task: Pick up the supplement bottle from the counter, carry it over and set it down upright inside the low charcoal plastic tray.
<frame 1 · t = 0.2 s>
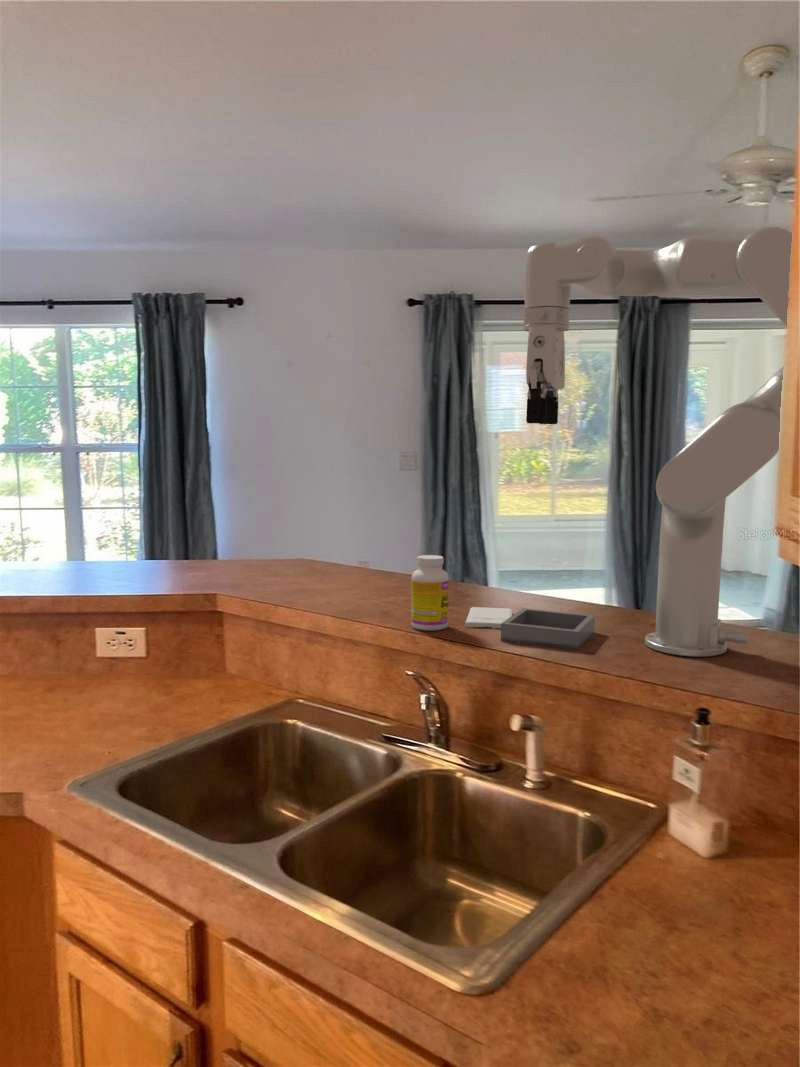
hand: (542, 423, 134), 36 cm above the worktop, tool pointing down, fingers open, 9 cm apart
external hard drive: (489, 624, 147), on the worktop
tray: (548, 636, 135), on the worktop
supplement bottle: (429, 628, 141), on the worktop
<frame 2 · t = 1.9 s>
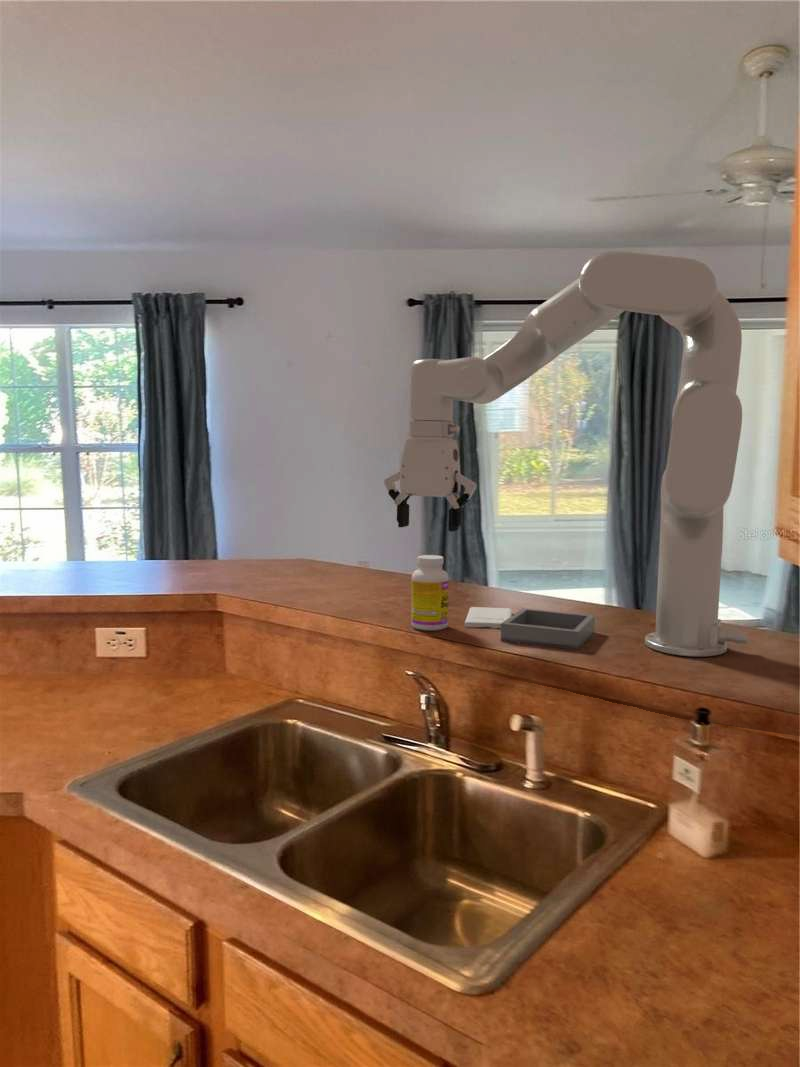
hand: (428, 528, 139), 18 cm above the worktop, tool pointing down, fingers open, 9 cm apart
nothing on the worktop moved.
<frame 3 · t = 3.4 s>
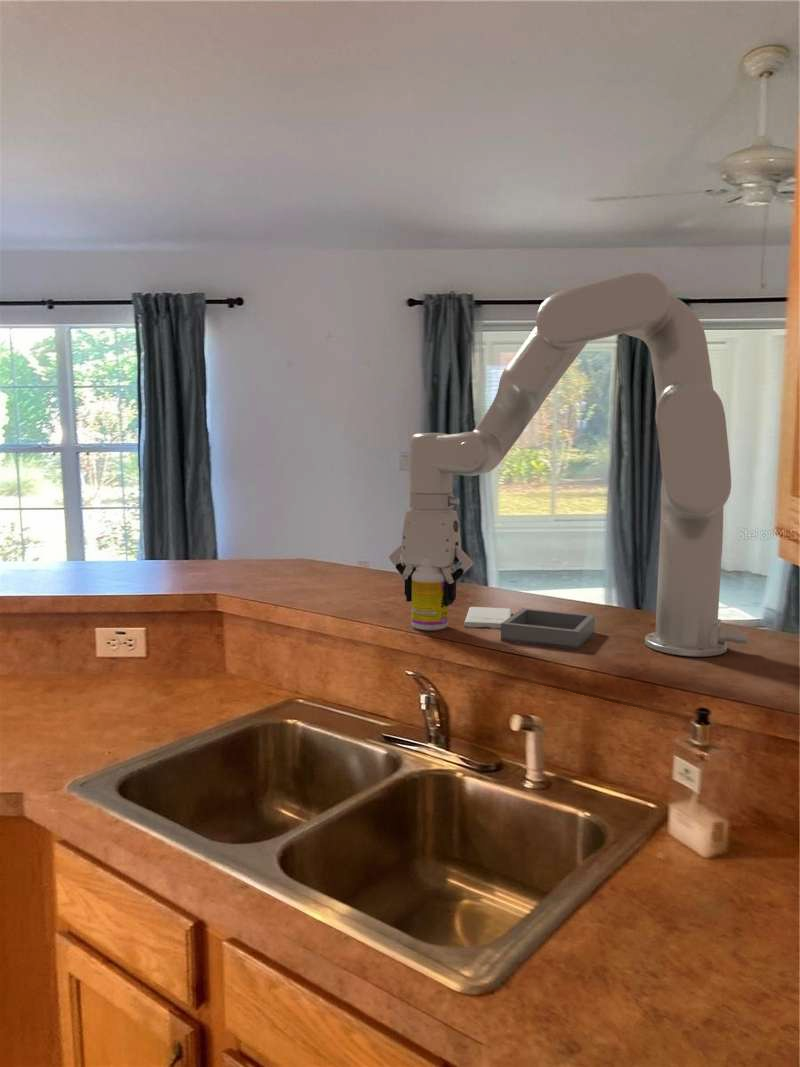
hand: (429, 601, 140), 5 cm above the worktop, tool pointing down, fingers closed on supplement bottle, 6 cm apart
supplement bottle: (429, 628, 141), on the worktop, touching gripper
everything else where it was.
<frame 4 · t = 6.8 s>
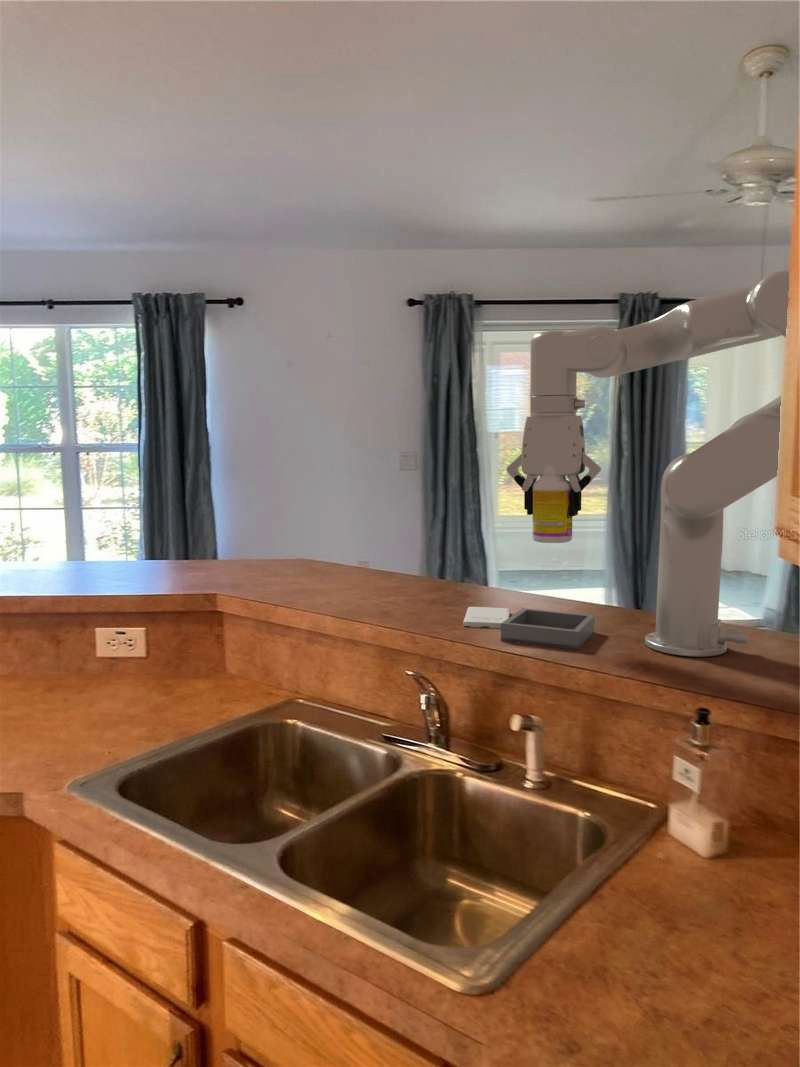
hand: (552, 513, 132), 21 cm above the worktop, tool pointing down, fingers closed on supplement bottle, 6 cm apart
supplement bottle: (552, 542, 133), point 16 cm above the worktop, touching gripper
everything else where it was.
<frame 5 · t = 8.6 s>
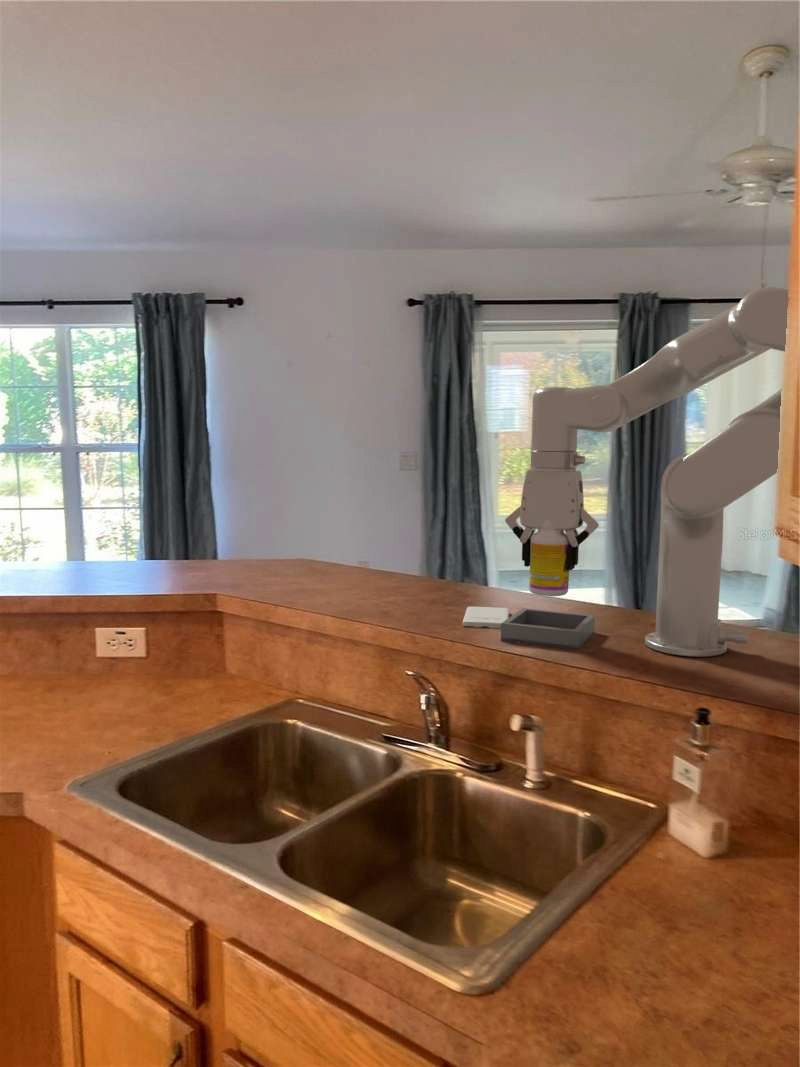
hand: (549, 566, 133), 12 cm above the worktop, tool pointing down, fingers closed on supplement bottle, 6 cm apart
supplement bottle: (548, 594, 134), point 7 cm above the worktop, touching gripper
everything else where it was.
when the fingers open (7 cm above the worktop, at t = 10.1 s): supplement bottle drops 2 cm, resting on tray.
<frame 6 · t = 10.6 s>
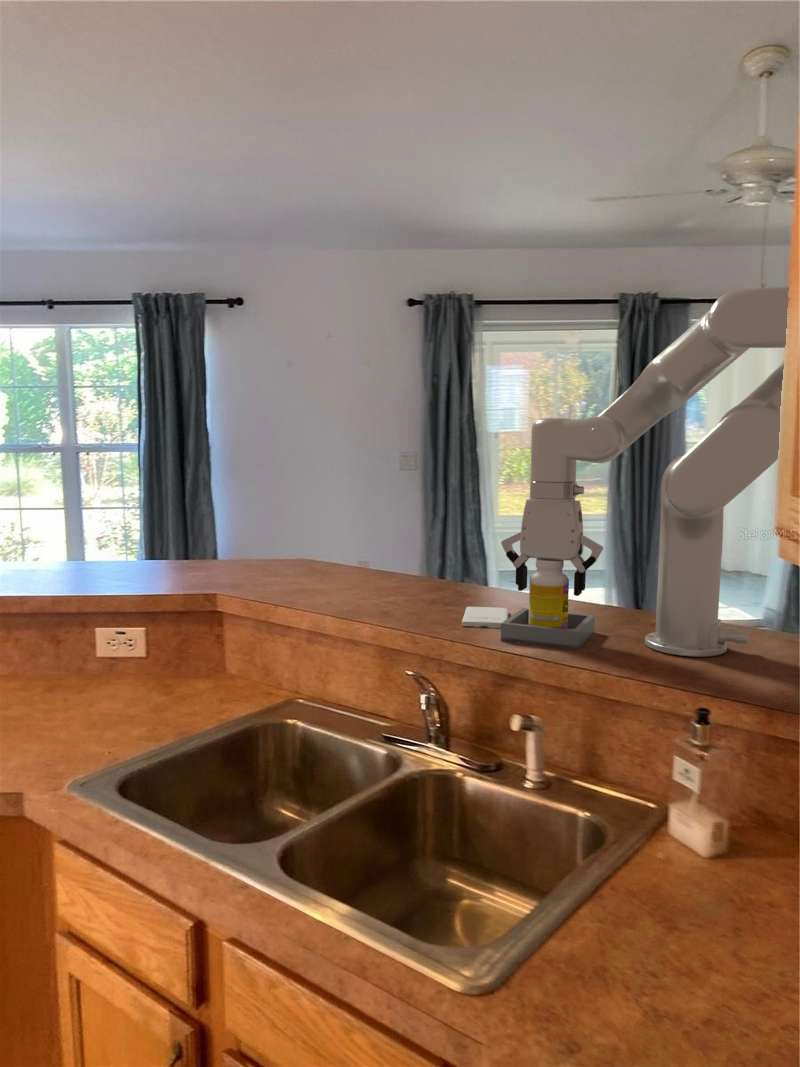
hand: (549, 591, 134), 8 cm above the worktop, tool pointing down, fingers open, 9 cm apart
supplement bottle: (547, 633, 135), resting on tray
everything else where it was.
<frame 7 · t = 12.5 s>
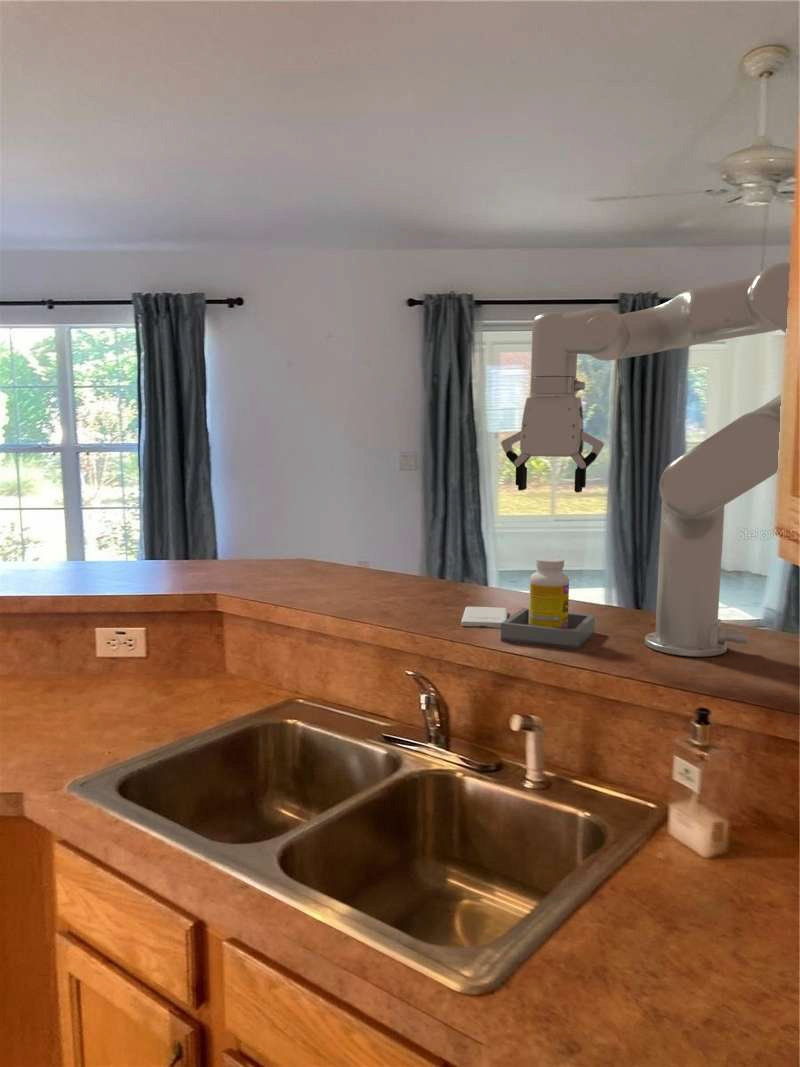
hand: (549, 490, 133), 25 cm above the worktop, tool pointing down, fingers open, 9 cm apart
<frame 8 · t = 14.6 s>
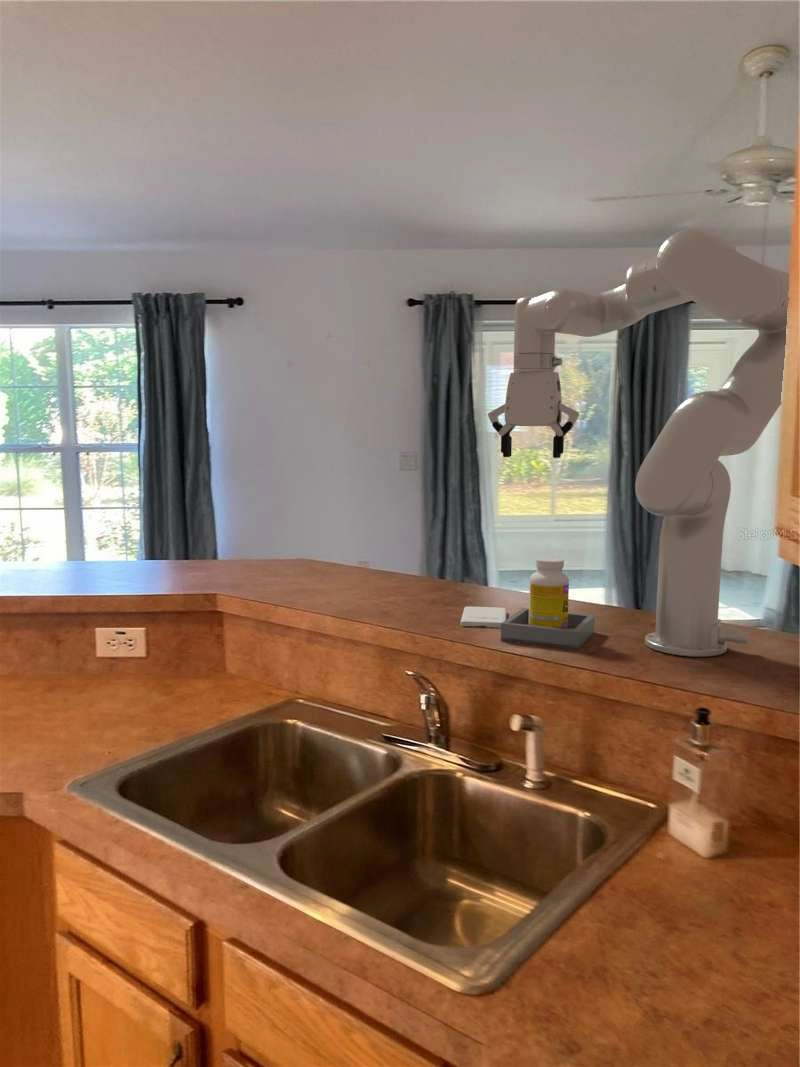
hand: (531, 457, 148), 30 cm above the worktop, tool pointing down, fingers open, 9 cm apart
at the end: supplement bottle inside the target area on the tray (0.1 cm from its centre), point 0.4 cm above the tray's base; supplement bottle tilted 0°; the gripper is holding nothing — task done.
